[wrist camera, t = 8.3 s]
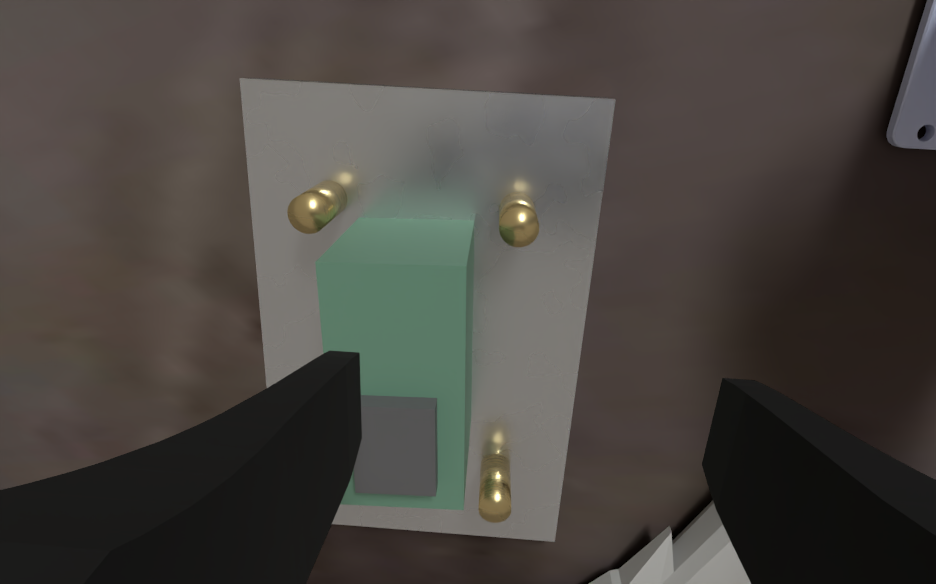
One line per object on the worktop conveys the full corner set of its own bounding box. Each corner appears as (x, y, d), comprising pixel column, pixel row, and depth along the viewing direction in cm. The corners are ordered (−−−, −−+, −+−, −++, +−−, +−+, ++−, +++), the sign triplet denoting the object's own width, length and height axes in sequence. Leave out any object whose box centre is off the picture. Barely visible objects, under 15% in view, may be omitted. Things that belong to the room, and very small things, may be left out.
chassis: (609, 97, 19) (632, 103, 15) (552, 524, 25) (560, 591, 22) (252, 77, 19) (201, 78, 16) (286, 503, 26) (255, 566, 22)
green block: (474, 220, 19) (465, 273, 14) (471, 419, 22) (462, 524, 17) (358, 217, 20) (307, 269, 14) (370, 415, 22) (331, 518, 17)
